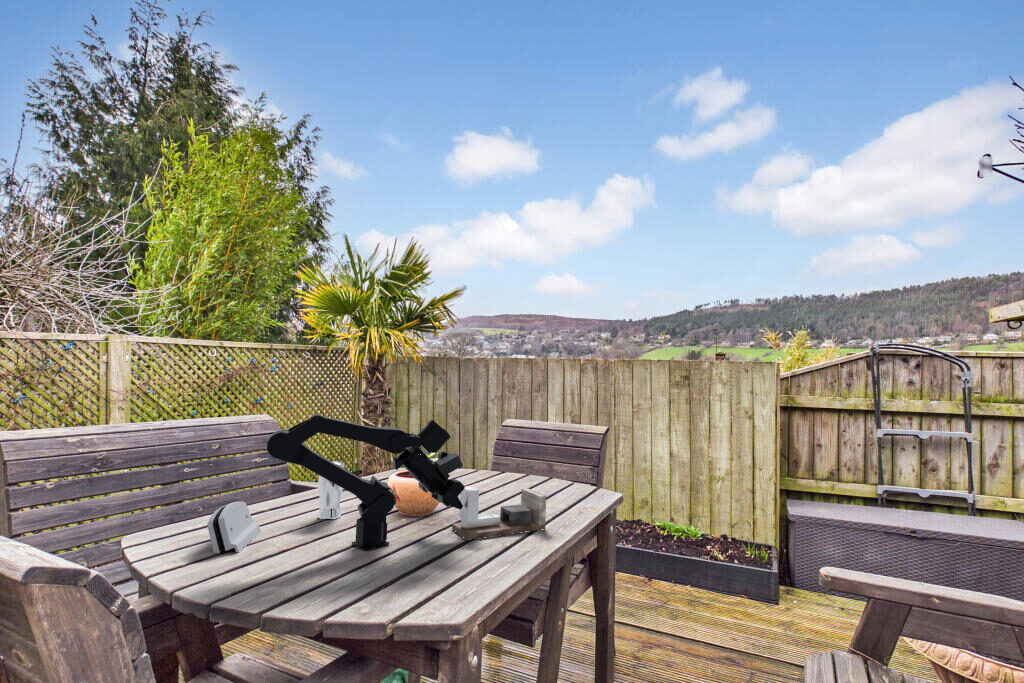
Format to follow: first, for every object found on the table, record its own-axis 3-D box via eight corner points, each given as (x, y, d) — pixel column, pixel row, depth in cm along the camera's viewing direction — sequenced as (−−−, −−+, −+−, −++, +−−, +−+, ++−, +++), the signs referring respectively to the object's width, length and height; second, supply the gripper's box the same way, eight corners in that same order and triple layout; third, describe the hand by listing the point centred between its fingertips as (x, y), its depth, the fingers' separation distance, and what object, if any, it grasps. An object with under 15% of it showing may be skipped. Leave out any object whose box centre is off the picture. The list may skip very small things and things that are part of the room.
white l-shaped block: (466, 529, 129) (468, 490, 129) (459, 524, 133) (460, 486, 134) (501, 525, 133) (502, 487, 134) (493, 520, 138) (494, 484, 138)
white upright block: (337, 521, 139) (339, 465, 140) (311, 520, 139) (314, 464, 140) (345, 514, 146) (348, 461, 147) (321, 513, 146) (324, 460, 147)
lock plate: (466, 540, 126) (468, 503, 126) (451, 529, 135) (453, 494, 135) (545, 529, 137) (546, 495, 137) (526, 520, 146) (527, 488, 146)
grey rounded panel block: (238, 553, 112) (224, 510, 112) (216, 561, 111) (202, 518, 112) (261, 530, 129) (249, 493, 129) (242, 537, 128) (230, 499, 128)
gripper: (457, 448, 121) (498, 490, 126) (431, 438, 137) (467, 476, 142) (425, 484, 117) (468, 527, 121) (401, 470, 133) (440, 508, 138)
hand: (461, 507), depth 131 cm, fingers closed
